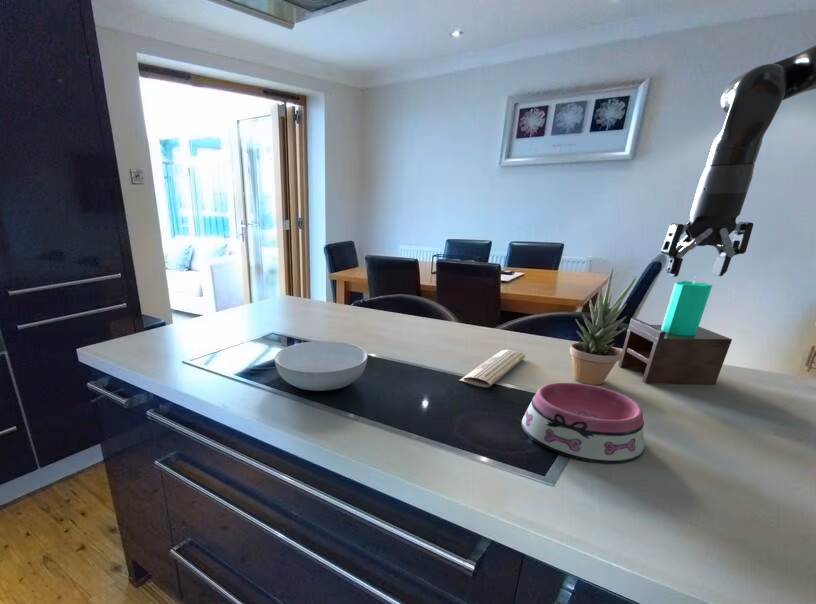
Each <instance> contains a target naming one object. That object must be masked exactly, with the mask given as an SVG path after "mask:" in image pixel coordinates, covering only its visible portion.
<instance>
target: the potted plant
mask: <svg viewBox="0 0 816 604" xmlns="http://www.w3.org/2000/svg"><path fill="white" fill-rule="evenodd" d="M613 273H614V267H611V269H610V273H609V278H608V280H607V284H606V289H605V294H604V295H603V289H602V287H600V288H599V291H598V299H597V300H598V301H597V302H595V306H594V304H593V301H592V299H591V298H590V299H589V311H590V317H591V321H592V322H591V321H590V320H589V319H588V318H587V316H586V315H585V313H582V319H583V321H584V323H585V325H586V327H587V329H588V331H587V329H586V328H585V326H584V325H582V324H581V323H580V322H579V321H578V319H577V318H576V319H575V322H576V324H577V325H578V327H579V328H580V330H581V331H582V333H581V332H579V330H578V329H576V333H577V335H578V336H579V337H580V339H582V341H580V340H578V342H575V343H572V344H571V345H570V348H569V355H571V363H572V374H573V379H574V380H575V381H577V382H579V383H581V384H586V385H601V384H604V382H605V381H606V379H607V378H608V376H609V374H610V372H611V371H612V370H613V368H614V366H615V365H616V363H617V362H619V361H620V358H621V355H622V350H621V349H619V348H616V347H614V345H615V344H616V342H615V343H614V340H615V338H614V337H616V336H618V335H620V334H621V333H622V332H624V331H625V330H627V327H623V328H622V329H620V330H617V329H618V327H619V325H620V324H621V323H623V321H624V320H625V319H626V318H627V315H625V316H623V317H622V318H620V319H619V320H617V321H616V319H618V317H620V314H621V313H622V312H623V310H624V309H625V307H626V306H627V305H628V304H627V303H625V304H624V305H622V303H623V300H624V299H625V297H626V295H627V294H628V292H630V290H631V288H632V286H633V285H634V284H635V282H636V280H637V276H638V275H636V276H634V278H633V279H632V280H631V282H629V284H628V285H627V286H626V288H625V289H624V290H623V291H622V292H621V294H620V295H619V297H618V298H617V299H616V300H615V302H614V303H612V305H611V300H612V296H613V295H612V294H611V295H610V290H611V283H612V279H613ZM603 296H604V297H603ZM609 296H610V297H609ZM621 305H622V306H621ZM611 342H613V343H611ZM610 343H611V344H610Z"/></svg>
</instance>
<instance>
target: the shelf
mask: <svg viewBox="0 0 816 604" xmlns="http://www.w3.org/2000/svg"><path fill="white" fill-rule="evenodd" d="M662 325H663V324H649V323H647V322H644V321H643V320H641V319H638V318H635V317H634V318H631V317H630V322H629V324H628V327H627V332H626V335H625V339H624V343H623V346H622V350H621V352H622V355H621V358H620V360H619V361H618V367H619V368H643V369H645V370H644V374H643V377H642V382H643V383H644V384H661V385H663V384H664V385H665V384H668V385H714V386H715V385H716V384H717V381H718V378H719V376H720V373H721V370H722V368H723V366H724V362H725V360H726V357H727V354H728V352H729V349H730V347H731V344H732V341H733V339H732V338H730V337H728V336H725V335H723V334H719V333H717V332H714V331H712V330H709V329H708V328H707V329H706V328H704V327H701V326H699V327H698V330H697V333H696V334H695V335H676V334H671V333H667V332H665V331H663V330H661V328H662Z"/></svg>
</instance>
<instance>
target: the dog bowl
mask: <svg viewBox="0 0 816 604" xmlns="http://www.w3.org/2000/svg"><path fill="white" fill-rule="evenodd" d="M520 422H521V423H520V424H521V425H520V426H521V429H522V431H523V432H524V434H526V436H527V437H528V438H530V439H531V440H532V441H533V442H535V443H536V444H538V445H539V446H542V447H543V448H545V449H547V450H549V451H551V452H553V453H557V454H559V455H561V456H565V457H569V458H571V457H572V459H575V460H580V461H585V462H590V463H597V464H623V463H628V462H632V461H635V460H637V459H638V458H640V457H641V456H642V455H643V454H644V452H645V440H644V439H645V438H644V426H645V425H644V424H645V421H644V413H643V409H642V407H641V406H640V405H639V404H638V403H637V402H636V401H635V400H634V399H632V398H630V397H629V396H627V395H624V394H623V393H621V392H617V391H615V390H611V389H608V388H605V387H602V386H601V387H600V386H597V385H593V384H586V383H580V382H579V383H577V382H553V383H547V384H545V385H542V386H541V387H540V388H539V389H538V390H537V391H536V392H535V394H534V396H533V397H532V399H531V402H530V404H529V405H528V407H527V409H526V410H525V412H524V415H523V417H522V419H521V421H520Z"/></svg>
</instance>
